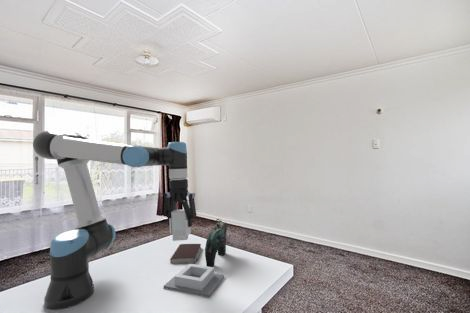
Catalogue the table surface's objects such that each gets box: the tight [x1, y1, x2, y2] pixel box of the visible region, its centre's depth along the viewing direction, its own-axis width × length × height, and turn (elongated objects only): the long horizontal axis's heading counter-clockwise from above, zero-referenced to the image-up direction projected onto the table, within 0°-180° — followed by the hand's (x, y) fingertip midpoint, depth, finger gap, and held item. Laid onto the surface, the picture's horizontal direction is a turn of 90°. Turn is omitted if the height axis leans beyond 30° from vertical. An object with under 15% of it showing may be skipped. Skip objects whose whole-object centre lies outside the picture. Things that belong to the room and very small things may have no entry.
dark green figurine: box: [204, 218, 228, 267], centre depth 117 cm, size 20×6×20 cm, turn 161°
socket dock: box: [163, 263, 226, 298], centre depth 96 cm, size 20×15×4 cm
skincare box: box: [171, 208, 189, 242], centre depth 97 cm, size 6×4×12 cm
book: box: [169, 243, 202, 264], centre depth 123 cm, size 12×19×3 cm, turn 0°
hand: (180, 233), depth 97 cm, fingers closed on skincare box, 7 cm apart
